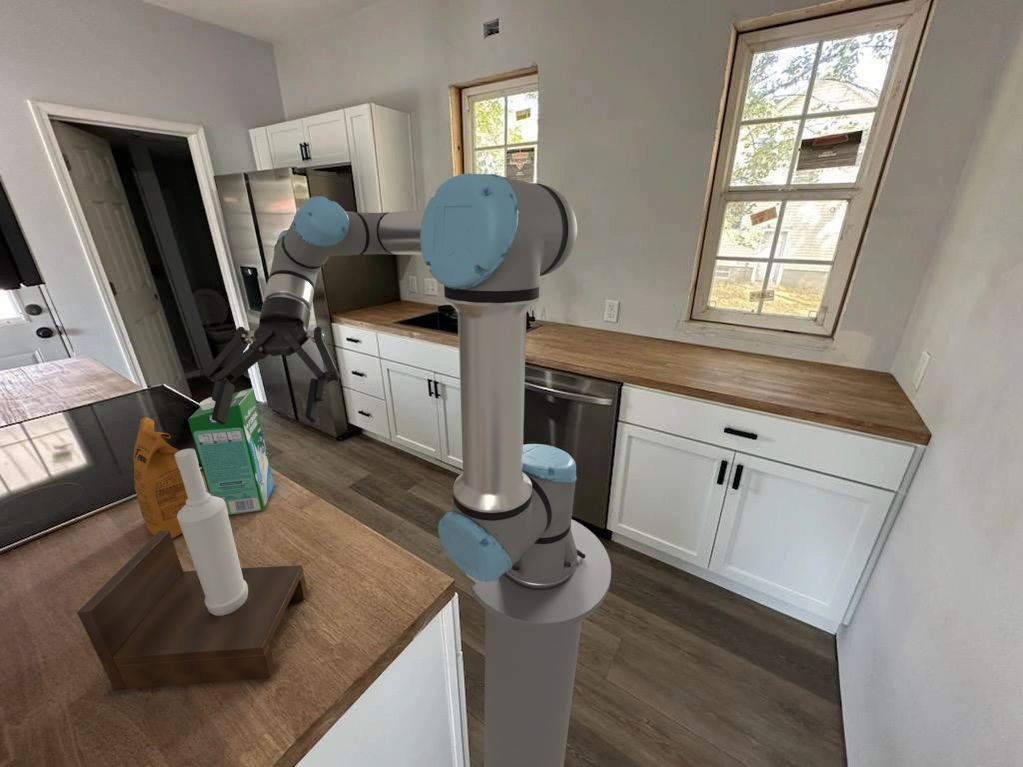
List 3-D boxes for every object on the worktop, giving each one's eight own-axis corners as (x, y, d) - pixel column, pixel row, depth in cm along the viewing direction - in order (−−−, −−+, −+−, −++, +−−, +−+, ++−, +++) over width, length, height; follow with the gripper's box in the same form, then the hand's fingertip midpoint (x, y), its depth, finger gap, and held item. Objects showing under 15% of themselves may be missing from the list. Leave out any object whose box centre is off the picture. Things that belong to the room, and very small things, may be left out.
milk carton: (230, 491, 94) (203, 390, 85) (274, 486, 96) (253, 387, 87) (215, 517, 85) (184, 408, 77) (263, 510, 88) (238, 404, 79)
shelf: (307, 592, 69) (294, 525, 64) (270, 678, 56) (250, 601, 51) (182, 599, 67) (158, 530, 62) (114, 690, 54) (76, 612, 49)
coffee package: (199, 497, 91) (173, 407, 83) (218, 522, 84) (191, 426, 76) (141, 519, 84) (106, 423, 76) (157, 549, 77) (120, 446, 69)
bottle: (256, 596, 61) (218, 449, 52) (219, 623, 57) (170, 468, 48) (237, 581, 63) (197, 438, 54) (200, 606, 59) (150, 455, 50)
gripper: (364, 319, 78) (353, 426, 69) (224, 318, 75) (194, 429, 66) (354, 295, 71) (341, 410, 62) (199, 293, 68) (162, 414, 59)
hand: (265, 420), depth 64 cm, fingers open, 13 cm apart
